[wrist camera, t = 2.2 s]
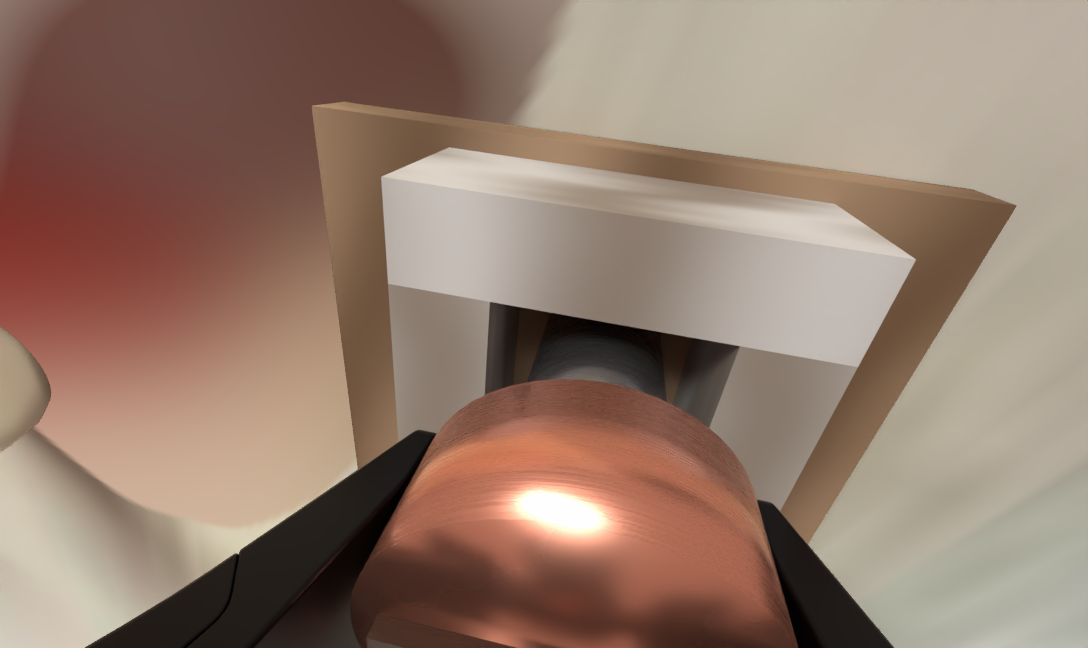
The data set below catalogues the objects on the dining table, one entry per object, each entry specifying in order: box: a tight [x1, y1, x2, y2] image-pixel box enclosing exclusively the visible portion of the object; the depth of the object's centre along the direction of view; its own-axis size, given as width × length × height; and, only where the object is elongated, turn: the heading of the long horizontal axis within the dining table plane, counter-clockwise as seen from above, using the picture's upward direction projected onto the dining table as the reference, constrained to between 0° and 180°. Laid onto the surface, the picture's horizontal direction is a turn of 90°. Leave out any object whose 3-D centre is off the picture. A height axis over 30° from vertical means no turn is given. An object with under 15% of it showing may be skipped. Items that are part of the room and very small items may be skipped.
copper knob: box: [350, 313, 798, 648], centre depth 9 cm, size 6×6×9 cm
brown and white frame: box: [312, 102, 1016, 544], centre depth 14 cm, size 16×18×5 cm
